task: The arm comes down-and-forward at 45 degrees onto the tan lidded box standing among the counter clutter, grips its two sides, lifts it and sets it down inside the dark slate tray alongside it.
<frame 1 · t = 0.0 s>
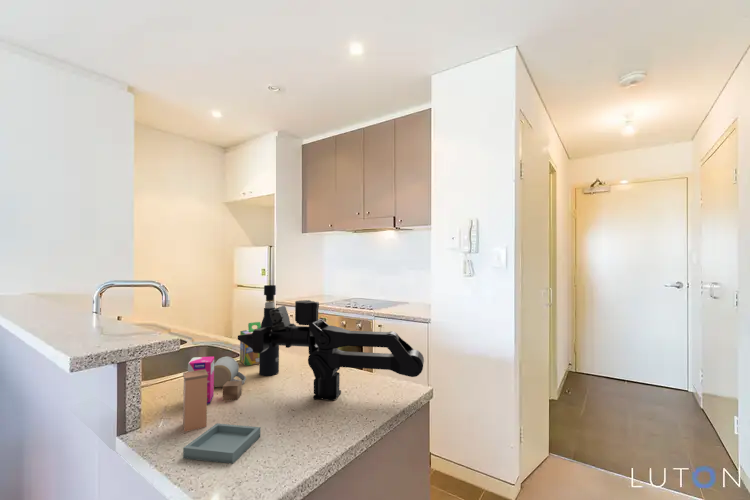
hand: (246, 334, 106), 17 cm above the countertop, tool horizontal, fingers open, 9 cm apart
chalk box: (254, 362, 135), on the countertop
walnut block: (232, 397, 100), on the countertop
tan lidded box: (194, 425, 83), on the countertop
ceramic mug: (227, 384, 111), on the countertop
wine bottle: (269, 373, 121), on the countertop
supplement box: (200, 402, 97), on the countertop
slate tray: (224, 446, 73), on the countertop
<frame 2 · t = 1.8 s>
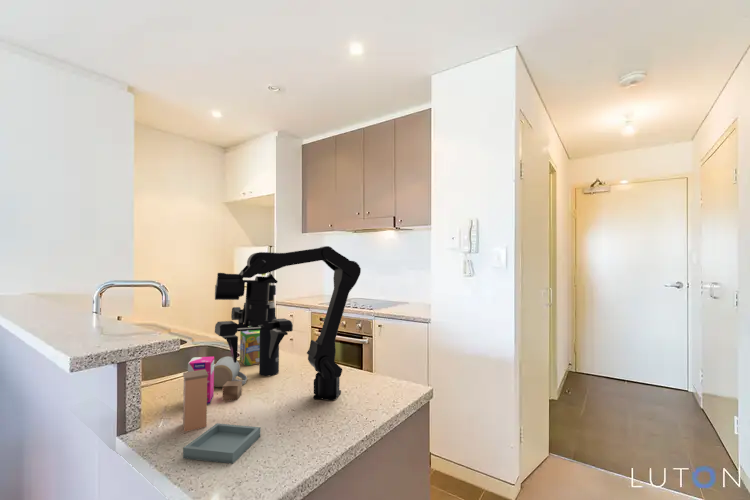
hand: (253, 360, 92), 13 cm above the countertop, tool pointing down, fingers open, 9 cm apart
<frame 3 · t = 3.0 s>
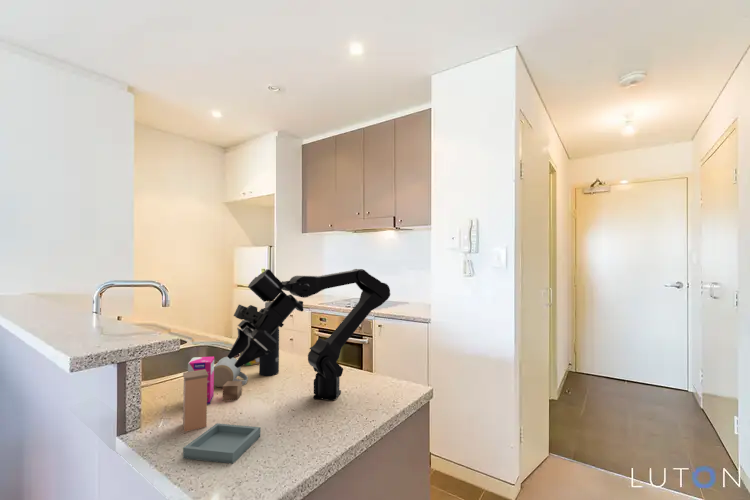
hand: (232, 362, 88), 13 cm above the countertop, tool tilted 45°, fingers open, 9 cm apart
nothing on the countertop moved.
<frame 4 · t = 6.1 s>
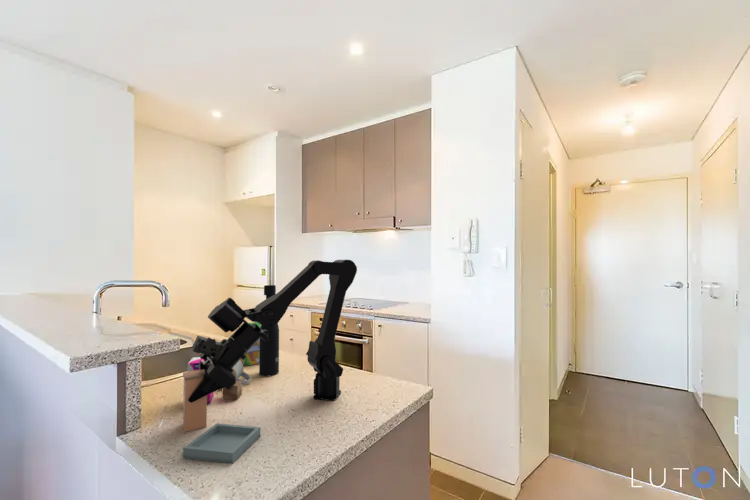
hand: (188, 397, 82), 7 cm above the countertop, tool tilted 45°, fingers closed on tan lidded box, 4 cm apart
tan lidded box: (194, 425, 83), on the countertop, touching gripper
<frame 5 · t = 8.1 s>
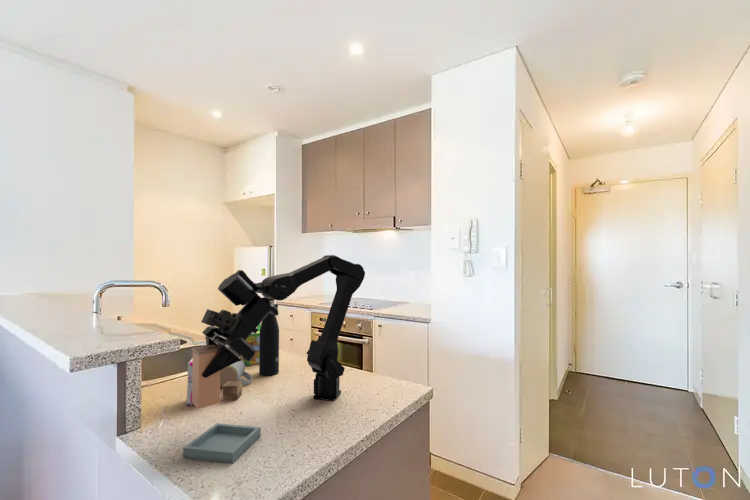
hand: (199, 374, 78), 13 cm above the countertop, tool tilted 45°, fingers closed on tan lidded box, 4 cm apart
tan lidded box: (205, 402, 79), point 7 cm above the countertop, touching gripper
when the fingers open (8 cm above the countertop, at t = 10.2 s): tan lidded box stays where it is, resting on slate tray.
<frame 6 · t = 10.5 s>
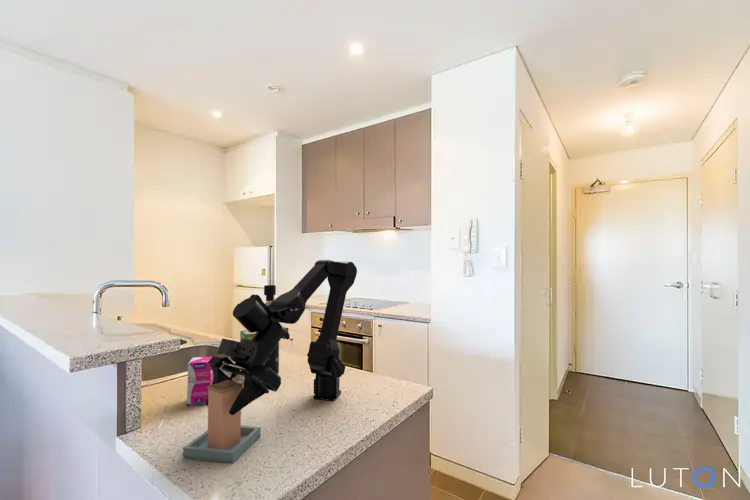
hand: (218, 409, 72), 8 cm above the countertop, tool tilted 45°, fingers open, 8 cm apart
tan lidded box: (224, 443, 73), point 1 cm above the countertop, touching slate tray
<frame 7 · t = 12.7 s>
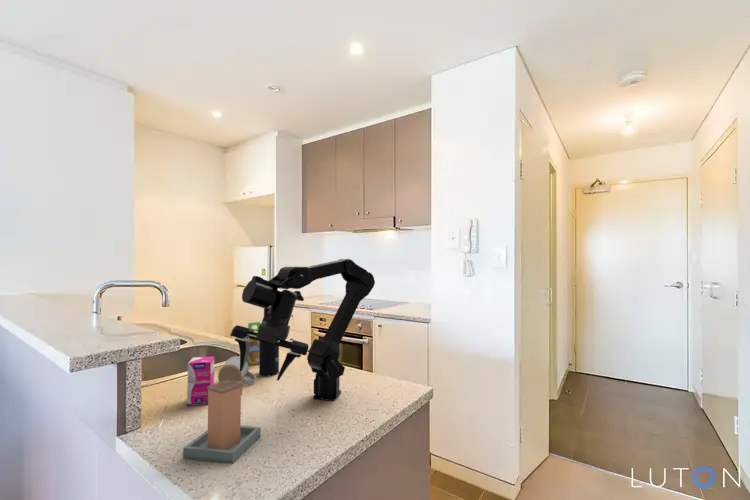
hand: (259, 375, 87), 10 cm above the countertop, tool tilted 20°, fingers open, 9 cm apart
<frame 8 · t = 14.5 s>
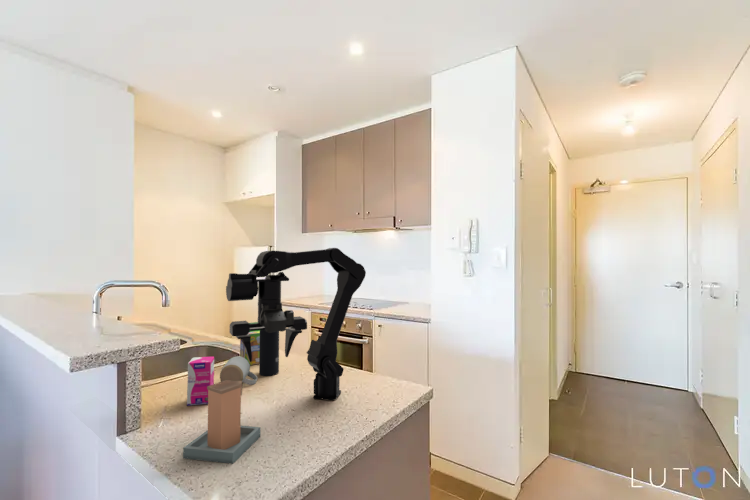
hand: (268, 359, 92), 13 cm above the countertop, tool pointing down, fingers open, 9 cm apart
at the end: tan lidded box inside the target area on the slate tray (0.0 cm from its centre), point 0.6 cm above the slate tray's base; tan lidded box tilted 0°; the gripper is holding nothing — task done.
